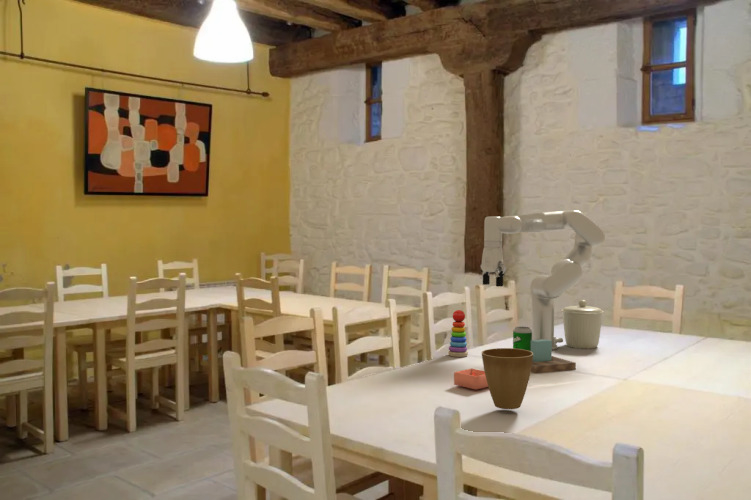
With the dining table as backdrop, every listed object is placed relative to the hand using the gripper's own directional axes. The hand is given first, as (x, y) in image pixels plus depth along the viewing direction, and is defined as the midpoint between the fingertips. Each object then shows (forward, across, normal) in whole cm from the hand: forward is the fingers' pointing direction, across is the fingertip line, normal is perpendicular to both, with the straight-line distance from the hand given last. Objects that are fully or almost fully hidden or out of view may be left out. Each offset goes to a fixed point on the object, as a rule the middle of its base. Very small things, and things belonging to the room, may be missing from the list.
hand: (492, 285), depth 293 cm
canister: (+28, +11, +40) cm, 50 cm away
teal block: (+28, +36, -3) cm, 46 cm away
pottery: (+28, +49, -39) cm, 69 cm away
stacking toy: (+28, +5, -20) cm, 35 cm away
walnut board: (+28, +36, -3) cm, 46 cm away
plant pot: (+28, +78, -50) cm, 97 cm away
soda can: (+28, +18, +2) cm, 33 cm away
